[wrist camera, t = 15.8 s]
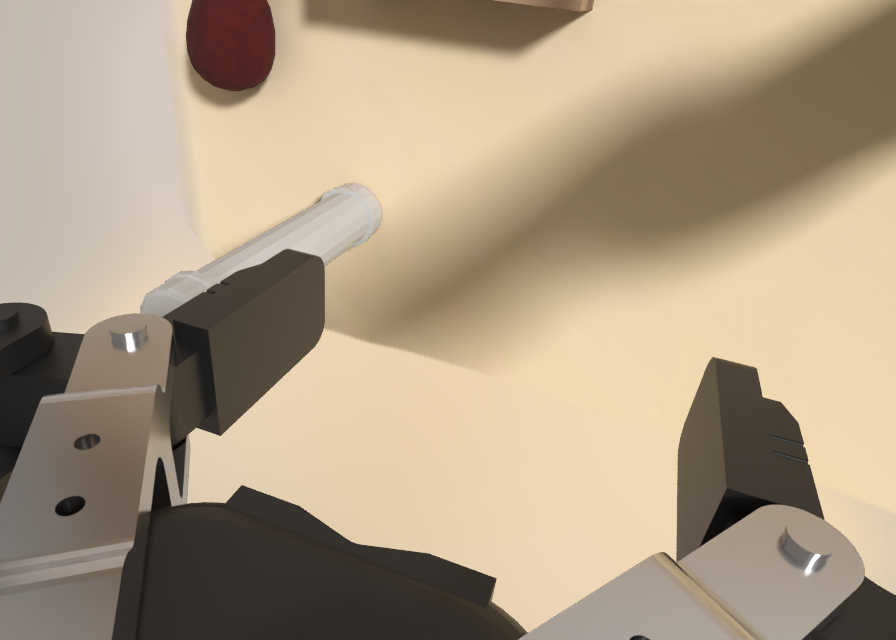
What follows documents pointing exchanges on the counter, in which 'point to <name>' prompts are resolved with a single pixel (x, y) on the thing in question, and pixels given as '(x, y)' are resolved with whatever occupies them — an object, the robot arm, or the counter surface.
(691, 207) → the counter surface
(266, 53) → the potato
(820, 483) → the counter surface
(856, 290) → the counter surface
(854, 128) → the counter surface
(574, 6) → the walnut socket block
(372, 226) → the pipe
